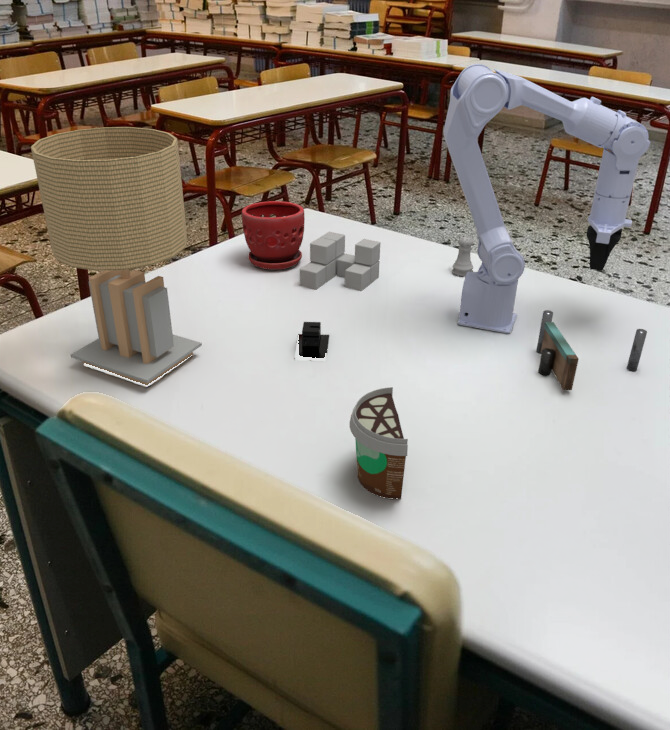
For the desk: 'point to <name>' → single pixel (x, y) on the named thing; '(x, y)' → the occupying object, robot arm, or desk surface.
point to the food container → (379, 444)
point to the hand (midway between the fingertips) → (596, 268)
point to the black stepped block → (312, 341)
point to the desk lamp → (118, 238)
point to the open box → (560, 356)
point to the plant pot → (273, 233)
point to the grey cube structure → (341, 262)
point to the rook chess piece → (463, 257)
